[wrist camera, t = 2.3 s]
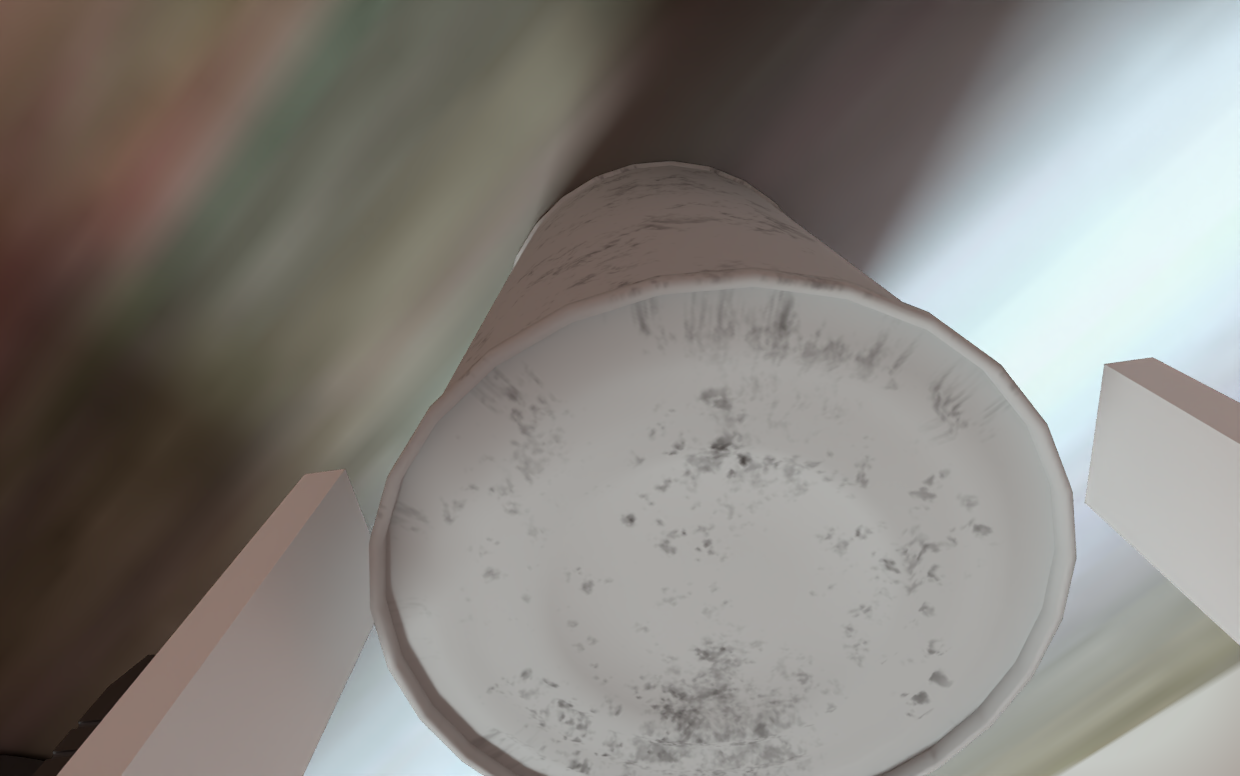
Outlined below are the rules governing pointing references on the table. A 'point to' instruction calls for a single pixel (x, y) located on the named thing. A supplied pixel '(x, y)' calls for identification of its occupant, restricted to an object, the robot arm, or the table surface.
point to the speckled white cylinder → (715, 508)
